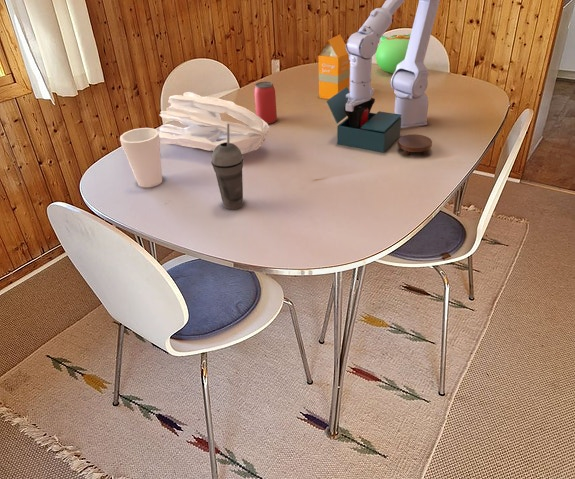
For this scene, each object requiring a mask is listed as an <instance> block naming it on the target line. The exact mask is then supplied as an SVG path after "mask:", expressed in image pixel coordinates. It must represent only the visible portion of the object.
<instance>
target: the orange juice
mask: <svg viewBox="0 0 575 479" xmlns="http://www.w3.org/2000/svg"><path fill="white" fill-rule="evenodd" d="M346 44H347V43H345V40H344V39H343V36H342V35H341V33H339V34H337V35H335V36H333V37H331V38H329V39H328V40H327V41H326V42H325V44H324V46H323V47H322V49H321V51H320V52H319V54H318V98H319V99H323V100H324V99H325V100H329V99H330V98H332V97H333V96H334V95H336V94H337V93H339V92H340V91H341V90H343V89H344V88H346V87H348V89H349V90H350V60H349V54H348V52H347V51H346V46H345V45H346Z"/></svg>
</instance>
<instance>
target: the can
mask: <svg viewBox="0 0 575 479" xmlns="http://www.w3.org/2000/svg"><path fill="white" fill-rule="evenodd" d="M358 107H359V108H363V109H365V110H364V112H363V114H362V117H361V123H360V128H359V129H362V128H361V127H362V126H363V125H364V124H365V123H366V122H367V121H368V107H366V106H362V105H358ZM362 130H367V129H362Z"/></svg>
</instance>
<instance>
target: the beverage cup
mask: <svg viewBox="0 0 575 479" xmlns="http://www.w3.org/2000/svg"><path fill="white" fill-rule="evenodd" d="M210 162H211V166H212V168H213V170H214V173H215V176H216V180H217V184H218V188H219V193H220V198H221V201H222V204H223V207H224V208H225V209H226V210H231V211H232V210H237V209H240V208H242V207H243V204H244V202H243V200H244V187H243V185H244V184H243V183H244V182H243V168H244V157H243V154H241V151H240V149H239V148H238V147H237V146H236V145H234V144H232V143H229V124H227V142H225V143H221V144H219V145H218V146H217V147H216V148H215V149H214V151H213V150H212V153H211V161H210Z"/></svg>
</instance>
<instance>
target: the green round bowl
mask: <svg viewBox="0 0 575 479" xmlns="http://www.w3.org/2000/svg"><path fill="white" fill-rule="evenodd" d="M410 36H411V33H409V34H395V35H392V36H391V35H390V36H389V37H388V36H386V35H382V37H381V38H380V41H379V43H378V47H377V51H376V53H375V61H376V64H377V66H378V67H379V68H380V69H381V70H382V71H384V72H386V73H390V74H394V72H395V70H396V67H397V64H399V63H400V62H402V61H403V60H404V59H405V56H406V52H407V48H408V44H409V40H410ZM409 72H411V71H409Z"/></svg>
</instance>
